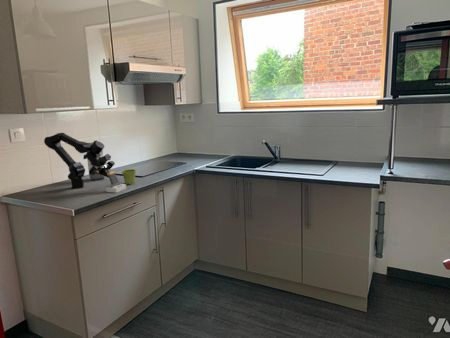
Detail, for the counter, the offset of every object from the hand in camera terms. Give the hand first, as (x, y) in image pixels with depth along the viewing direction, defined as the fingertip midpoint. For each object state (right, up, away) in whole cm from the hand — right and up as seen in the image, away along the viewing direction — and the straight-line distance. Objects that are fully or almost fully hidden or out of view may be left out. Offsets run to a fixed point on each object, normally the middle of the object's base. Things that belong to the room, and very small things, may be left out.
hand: (111, 177), depth 212 cm
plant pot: (+7, -4, +16) cm, 18 cm away
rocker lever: (+3, -4, 0) cm, 5 cm away
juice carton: (-20, -2, +32) cm, 38 cm away
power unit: (+3, -8, +1) cm, 8 cm away
